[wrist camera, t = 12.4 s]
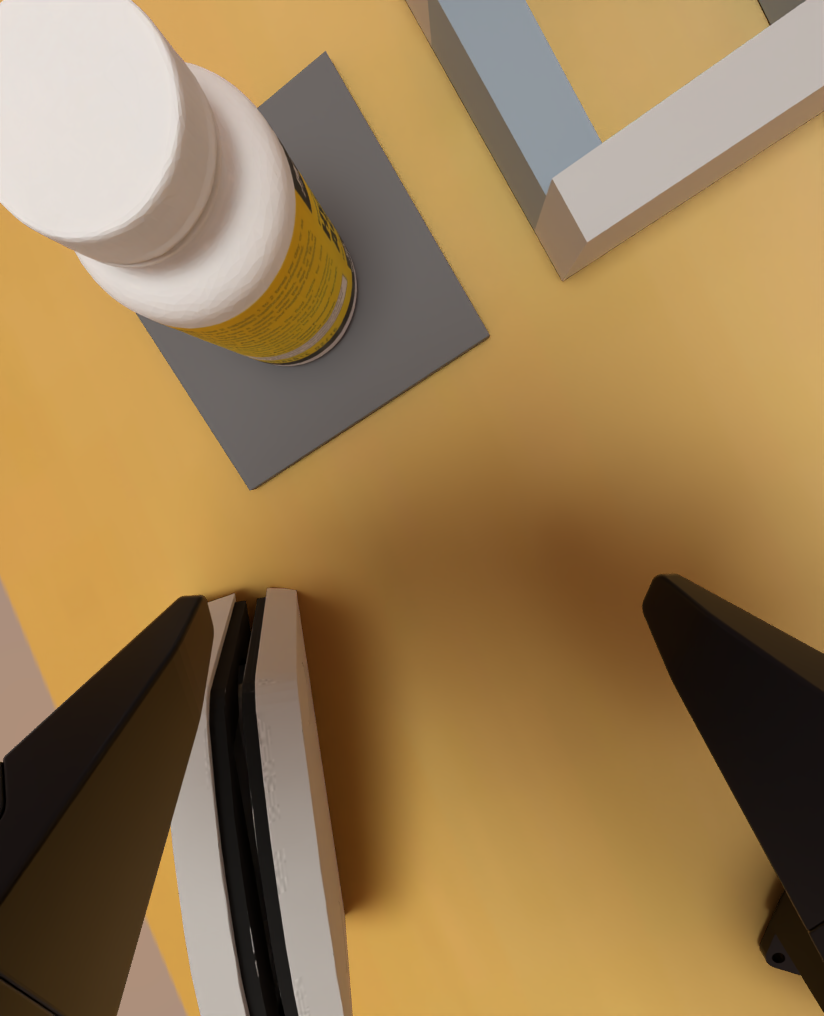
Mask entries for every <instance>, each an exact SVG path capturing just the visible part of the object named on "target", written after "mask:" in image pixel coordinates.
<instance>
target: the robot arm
mask: <svg viewBox="0 0 824 1016" xmlns="http://www.w3.org/2000/svg"><path fill="white" fill-rule="evenodd" d="M642 609H643V614H644V617H645V619H646V621H647V624H648V626H649V628H650V631H651V633H652V636H653V638H654V640H655V643H656V645H657V647H658V650H659V652H660V655H661V657H662V659H663V662H664V664H665V666H666V669H667V671H668V673H669V675H670V678H671V680H672V682H673V684H674V686H675V688H676V690H677V691H678V693H679V695H680V697H681V699H682V701H683V703H684V704H685V706H686V708H687V710H688V712H689V714H690V715H691V717H692V719H693V721H694V723H695V725H696V727H697V728H698V730H699V732H700V734H701V736H702V738H703V739H704V741H705V743H706V745H707V747H708V749H709V751H710V752H711V754H712V756H713V758H714V760H715V762H716V763H717V765H718V767H719V769H720V771H721V773H722V775H723V776H724V778H725V780H726V782H727V784H728V786H729V787H730V789H731V791H732V793H733V795H734V797H735V799H736V800H737V802H738V804H739V806H740V808H741V810H742V811H743V813H744V815H745V817H746V819H747V821H748V823H749V824H750V826H751V828H752V830H753V832H754V834H755V835H756V837H757V839H758V841H759V843H760V845H761V847H762V848H763V850H764V852H765V854H766V856H767V858H768V859H769V861H770V863H771V865H772V867H773V869H774V871H775V872H776V874H777V876H778V878H779V880H780V882H781V883H782V885H783V887H784V891H783V893H782V896H781V898H780V900H779V902H778V905H777V907H776V909H775V912H774V914H773V916H772V918H771V921H770V923H769V925H768V927H767V930H766V932H765V934H764V936H763V939H762V941H761V943H760V951H761V953H762V955H763V956H764V958H765V960H766V962H767V963H768V964H769V965H770V966H772V967H775V968H778V969H781V970H785V971H788V972H791V973H795V974H798V975H801V976H802V978H803V980H804V981H805V983H806V984H807V986H808V988H809V989H810V991H811V993H812V994H813V996H814V997H815V999H816V1001H817V1002H818V1004H819V1006H820V1007H821V1009H822V1010H823V1012H824V654H823V653H821V652H820V651H818V650H816V649H814V648H812V647H810V646H809V645H807V644H805V643H803V642H801V641H799V640H798V639H796V638H794V637H792V636H790V635H788V634H787V633H785V632H783V631H781V630H779V629H777V628H776V627H774V626H772V625H770V624H768V623H766V622H765V621H763V620H761V619H759V618H757V617H755V616H754V615H752V614H750V613H748V612H746V611H744V610H743V609H741V608H739V607H737V606H735V605H733V604H732V603H730V602H728V601H726V600H724V599H722V598H721V597H719V596H717V595H715V594H713V593H711V592H710V591H708V590H706V589H704V588H702V587H700V586H699V585H697V584H695V583H693V582H691V581H690V580H688V579H686V578H684V577H682V576H680V575H678V574H659V575H657V576H656V577H654V579H653V581H652V583H651V585H650V587H649V589H648V592H647V594H646V596H645V598H644V601H643V605H642ZM213 639H214V626H213V622H212V618H211V614H210V610H209V606H208V602H207V599H206V598H205V597H204V596H202V595H192V596H182V597H180V598H178V599H177V600H176V601H175V602H174V603H172V604H171V605H170V606H169V607H168V608H167V609H166V610H165V611H164V612H163V613H161V614H160V615H159V616H158V617H157V618H156V619H155V620H154V621H153V622H152V623H150V624H149V625H148V626H147V627H146V628H145V629H144V630H143V631H142V632H141V633H140V634H138V635H137V636H136V637H135V638H134V639H133V640H132V641H131V642H130V643H129V644H127V645H126V646H125V647H124V648H123V649H122V650H121V651H120V652H119V653H118V654H116V655H115V656H114V657H113V658H112V659H111V660H110V661H109V662H108V663H107V664H106V665H104V666H103V667H102V668H101V669H100V670H99V671H98V672H97V673H96V674H95V675H93V676H92V677H91V678H90V679H89V680H88V681H87V682H86V683H85V684H84V685H82V686H81V687H80V688H79V689H78V690H77V691H76V692H75V693H74V694H73V695H71V696H70V697H69V698H68V699H67V700H66V701H65V702H64V703H63V704H62V705H61V706H59V707H58V708H57V709H56V710H55V711H54V712H53V713H52V714H51V715H50V716H48V717H47V718H46V719H45V720H44V721H43V722H42V723H41V724H40V725H39V726H37V727H36V728H35V729H34V730H33V731H32V732H31V733H30V734H29V735H28V736H26V737H25V738H24V739H23V740H22V741H21V742H20V743H19V744H18V745H17V746H16V747H14V748H13V749H12V750H11V751H10V752H9V753H8V754H7V755H6V756H5V757H4V758H3V762H0V1016H117V1012H118V1009H119V1005H120V1002H121V998H122V995H123V991H124V988H125V984H126V981H127V977H128V974H129V970H130V967H131V963H132V960H133V956H134V952H135V949H136V945H137V942H138V938H139V935H140V931H141V928H142V924H143V921H144V917H145V914H146V910H147V907H148V903H149V900H150V896H151V892H152V889H153V885H154V882H155V878H156V875H157V871H158V868H159V864H160V861H161V857H162V854H163V850H164V847H165V843H166V839H167V836H168V832H169V829H170V825H171V822H172V818H173V815H174V811H175V808H176V804H177V801H178V797H179V794H180V790H181V786H182V783H183V779H184V776H185V772H186V769H187V765H188V762H189V758H190V755H191V751H192V748H193V744H194V741H195V737H196V733H197V730H198V726H199V722H200V718H201V713H202V708H203V702H204V696H205V689H206V683H207V677H208V671H209V664H210V658H211V652H212V646H213Z"/></svg>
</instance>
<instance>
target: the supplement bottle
mask: <svg viewBox="0 0 824 1016" xmlns="http://www.w3.org/2000/svg"><path fill="white" fill-rule="evenodd" d="M0 202H1V203H2V205H3V206H4V207H5V208H6V209H7V210H8V211H9V212H11V213H12V214H13V215H14V216H15V217H16V218H17V219H18V220H20V221H21V222H22V223H24V224H25V225H26V226H28V227H29V228H31V229H33V230H35V231H36V232H38V233H40V234H42V235H44V236H46V237H48V238H50V239H52V240H54V241H56V242H58V243H60V244H62V245H63V246H65V247H67V248H70V249H72V250H74V251H75V253H76V254H77V256H78V258H79V260H80V261H81V263H82V265H83V266H84V267H85V268H86V270H87V271H88V272H89V274H90V275H91V276H92V278H93V279H94V280H95V281H96V282H97V283H98V284H99V285H100V286H101V287H102V288H103V289H104V290H105V291H106V292H107V293H108V294H109V295H110V296H111V297H113V298H114V299H115V300H116V301H118V302H119V303H120V304H122V305H124V306H125V307H127V308H129V309H130V310H132V311H134V312H136V313H138V314H140V315H142V316H144V317H146V318H149V319H151V320H153V321H156V322H158V323H160V324H163V325H166V326H168V327H171V328H174V329H176V330H179V331H182V332H184V333H187V334H189V335H192V336H194V337H197V338H199V339H202V340H205V341H207V342H210V343H212V344H215V345H218V346H220V347H223V348H226V349H228V350H231V351H234V352H236V353H239V354H241V355H244V356H247V357H249V358H252V359H255V360H258V361H260V362H264V363H268V364H272V365H278V366H295V365H301V364H305V363H308V362H311V361H313V360H315V359H317V358H319V357H321V356H322V355H324V354H325V353H327V352H328V351H329V350H330V349H332V348H333V347H334V346H335V345H336V343H337V342H338V341H339V340H340V339H341V337H342V336H343V334H344V333H345V331H346V329H347V327H348V325H349V323H350V321H351V318H352V315H353V312H354V309H355V303H356V295H357V282H356V274H355V269H354V266H353V262H352V259H351V257H350V254H349V252H348V250H347V248H346V246H345V244H344V242H343V240H342V238H341V237H340V235H339V233H338V232H337V230H336V229H335V227H334V226H333V224H332V223H331V222H330V220H329V218H328V217H327V215H326V214H325V212H324V210H323V209H322V207H321V205H320V204H319V203H318V201H317V199H316V198H315V196H314V195H313V193H312V191H311V190H310V188H309V187H308V185H307V184H306V182H305V180H304V179H303V177H302V175H301V174H300V172H299V171H298V169H297V168H296V166H295V164H294V163H293V161H292V160H291V158H290V156H289V155H288V153H287V151H286V149H285V148H284V146H283V144H282V143H281V141H280V140H279V138H278V137H277V136H276V134H275V133H274V131H273V129H272V128H271V127H270V125H269V124H268V122H267V121H266V119H265V118H264V117H263V116H262V114H261V113H260V112H259V110H258V109H257V108H256V107H255V105H254V104H253V103H252V102H251V101H250V100H249V99H248V98H247V97H246V96H245V95H244V94H243V93H242V92H241V91H240V90H238V89H237V88H236V87H235V86H234V85H232V84H231V83H230V82H228V81H227V80H225V79H224V78H222V77H221V76H219V75H217V74H215V73H213V72H211V71H209V70H207V69H205V68H202V67H200V66H197V65H194V64H190V63H186V62H184V61H183V60H182V58H181V57H180V56H179V55H178V54H177V53H176V51H175V50H174V49H173V47H172V46H171V45H170V44H169V42H168V41H167V40H166V38H165V37H164V36H163V34H162V33H161V32H160V31H159V29H158V28H157V27H156V26H155V24H154V23H153V22H152V20H151V19H150V18H149V17H148V16H147V15H146V14H145V12H144V11H143V10H142V9H141V8H139V7H138V6H137V5H136V4H135V3H134V2H133V1H131V0H3V1H2V2H1V3H0Z"/></svg>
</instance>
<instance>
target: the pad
mask: <svg viewBox="0 0 824 1016" xmlns="http://www.w3.org/2000/svg"><path fill="white" fill-rule="evenodd" d="M257 109H258V110H259V112H260V113H261V114H262V116H263V117H264V118H265V119H266V121H267V122H268V124H269V125H270V127H271V128H272V129H273V131H274V133H275V134H276V136H277V137H278V138H279V140H280V141H281V143H282V144H283V146H284V148H285V149H286V151H287V153H288V155H289V156H290V158H291V160H292V161H293V163H294V164H295V166H296V168H297V169H298V171H299V172H300V174H301V175H302V177H303V179H304V180H305V182H306V184H307V185H308V187H309V188H310V190H311V191H312V193H313V195H314V196H315V198H316V199H317V201H318V203H319V204H320V205H321V207H322V209H323V210H324V212H325V214H326V215H327V217H328V218H329V220H330V222H331V223H332V224H333V226H334V227H335V229H336V230H337V232H338V233H339V235H340V237H341V238H342V240H343V242H344V244H345V246H346V248H347V250H348V252H349V254H350V257H351V259H352V262H353V266H354V269H355V274H356V282H357V295H356V303H355V309H354V312H353V315H352V318H351V321H350V323H349V325H348V327H347V329H346V331H345V333H344V334H343V336H342V337H341V339H340V340H339V341H338V342H337V343H336V345H335V346H334V347H333V348H332V349H330V350H329V351H328V352H327V353H325V354H324V355H322V356H321V357H319V358H317V359H315V360H313V361H311V362H308V363H305V364H301V365H295V366H278V365H272V364H268V363H264V362H260V361H258V360H255V359H252V358H249V357H247V356H244V355H241V354H239V353H236V352H234V351H231V350H228V349H226V348H223V347H220V346H218V345H215V344H212V343H210V342H207V341H205V340H202V339H199V338H197V337H194V336H192V335H189V334H187V333H184V332H182V331H179V330H176V329H174V328H171V327H168V326H166V325H163V324H160V323H158V322H156V321H153V320H151V319H149V318H146V317H144V316H142V315H140V314H138V313H136V314H137V315H138V317H139V319H140V320H141V322H142V323H143V325H144V326H145V328H146V330H147V331H148V333H149V334H150V336H151V337H152V339H153V340H154V342H155V344H156V345H157V347H158V348H159V350H160V351H161V353H162V354H163V356H164V358H165V359H166V361H167V362H168V364H169V365H170V367H171V368H172V370H173V372H174V373H175V375H176V376H177V378H178V379H179V381H180V382H181V384H182V386H183V387H184V389H185V390H186V392H187V393H188V395H189V396H190V398H191V400H192V401H193V403H194V404H195V406H196V407H197V409H198V410H199V412H200V414H201V415H202V417H203V418H204V420H205V421H206V423H207V424H208V426H209V428H210V429H211V431H212V432H213V434H214V435H215V437H216V439H217V440H218V442H219V443H220V445H221V446H222V448H223V449H224V451H225V453H226V454H227V456H228V457H229V459H230V460H231V462H232V463H233V465H234V467H235V468H236V470H237V471H238V473H239V474H240V476H241V477H242V479H243V481H244V482H245V484H246V485H247V487H248V488H249V490H254V489H256V488H258V487H259V486H261V485H262V484H264V483H266V482H267V481H269V480H270V479H272V478H273V477H275V476H276V475H278V474H279V473H281V472H283V471H284V470H286V469H287V468H289V467H290V466H292V465H293V464H295V463H296V462H298V461H299V460H301V459H303V458H304V457H306V456H307V455H309V454H310V453H312V452H313V451H315V450H316V449H318V448H319V447H321V446H323V445H324V444H326V443H327V442H329V441H330V440H332V439H333V438H335V437H336V436H338V435H340V434H341V433H343V432H344V431H346V430H347V429H349V428H350V427H352V426H353V425H355V424H356V423H358V422H360V421H361V420H363V419H364V418H366V417H367V416H369V415H370V414H372V413H373V412H375V411H377V410H378V409H380V408H381V407H383V406H384V405H386V404H387V403H389V402H390V401H392V400H393V399H395V398H397V397H398V396H400V395H401V394H403V393H404V392H406V391H407V390H409V389H410V388H412V387H413V386H415V385H417V384H418V383H420V382H421V381H423V380H424V379H426V378H427V377H429V376H430V375H432V374H434V373H435V372H437V371H438V370H440V369H441V368H443V367H444V366H446V365H447V364H449V363H450V362H452V361H454V360H455V359H457V358H458V357H460V356H461V355H463V354H464V353H466V352H467V351H469V350H471V349H472V348H474V347H475V346H477V345H478V344H480V343H481V342H483V341H484V340H486V339H487V338H489V333H488V331H487V330H486V328H485V326H484V324H483V323H482V321H481V319H480V317H479V316H478V314H477V312H476V311H475V309H474V307H473V305H472V304H471V302H470V300H469V298H468V297H467V295H466V293H465V291H464V290H463V288H462V286H461V285H460V283H459V281H458V279H457V278H456V276H455V274H454V272H453V271H452V269H451V267H450V266H449V264H448V262H447V260H446V259H445V257H444V255H443V253H442V252H441V250H440V248H439V246H438V245H437V243H436V241H435V240H434V238H433V236H432V234H431V233H430V231H429V229H428V227H427V226H426V224H425V222H424V221H423V219H422V217H421V215H420V214H419V212H418V210H417V208H416V207H415V205H414V203H413V201H412V200H411V198H410V196H409V195H408V193H407V191H406V189H405V188H404V186H403V184H402V182H401V181H400V179H399V177H398V176H397V174H396V172H395V170H394V169H393V167H392V165H391V163H390V162H389V160H388V158H387V156H386V155H385V153H384V151H383V150H382V148H381V146H380V144H379V143H378V141H377V139H376V137H375V136H374V134H373V132H372V131H371V129H370V127H369V125H368V124H367V122H366V120H365V118H364V117H363V115H362V113H361V112H360V110H359V108H358V106H357V105H356V103H355V101H354V99H353V98H352V96H351V94H350V92H349V91H348V89H347V87H346V86H345V84H344V82H343V80H342V79H341V77H340V75H339V73H338V72H337V70H336V68H335V67H334V65H333V63H332V61H331V60H330V58H329V56H328V54H327V53H326V51H325V52H324V53H323V54H321V55H320V56H319V57H318V58H317V59H315V60H314V61H313V62H312V63H311V64H309V65H308V66H307V67H306V68H305V69H303V70H302V71H301V72H300V73H299V74H297V75H296V76H295V77H294V78H293V79H292V80H290V81H289V82H288V83H287V84H286V85H284V86H283V87H282V88H281V89H280V90H278V91H277V92H276V93H275V94H274V95H272V96H271V97H270V98H269V99H268V100H267V101H265V102H264V103H263V104H262V105H261V106H259V107H258V108H257Z"/></svg>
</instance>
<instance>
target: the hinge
mask: <svg viewBox="0 0 824 1016" xmlns="http://www.w3.org/2000/svg"><path fill="white" fill-rule="evenodd" d="M208 606H209V610H210V614H211V618H212V622H213V626H214V639H213V646H212V652H211V658H210V664H209V671H208V677H207V683H206V689H205V696H204V702H203V708H202V713H201V718H200V722H199V726H198V730H197V733H196V737H195V741H194V744H193V748H192V751H191V755H190V758H189V762H188V765H187V769H186V772H185V776H184V779H183V783H182V786H181V790H180V794H179V797H178V801H177V804H176V808H175V811H174V815H173V818H172V822H171V833H172V843H173V853H174V861H175V868H176V876H177V883H178V891H179V898H180V905H181V912H182V919H183V927H184V934H185V940H186V946H187V952H188V958H189V963H190V969H191V975H192V980H193V984H194V988H195V993H196V997H197V1002H198V1006H199V1011H200V1015H201V1016H353V1014H352V1001H351V988H350V976H349V963H348V950H347V937H346V924H345V913H344V906H343V900H342V893H341V886H340V879H339V873H338V866H337V859H336V853H335V846H334V839H333V832H332V826H331V819H330V812H329V806H328V799H327V792H326V786H325V779H324V772H323V765H322V759H321V752H320V745H319V739H318V732H317V725H316V718H315V712H314V705H313V698H312V692H311V685H310V678H309V672H308V665H307V658H306V651H305V645H304V638H303V631H302V625H301V618H300V611H299V605H298V598H297V591H296V590H292V589H286V588H267V593H266V597H263V598H258V599H257V603H256V609H255V615H254V621H253V626H252V632H251V629H250V623H249V617H248V611H247V604H246V601H240V602H236V597H235V593H234V594H231V595H228V596H225V597H222V598H219V599H217V600H214V601H211V602H208Z"/></svg>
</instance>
